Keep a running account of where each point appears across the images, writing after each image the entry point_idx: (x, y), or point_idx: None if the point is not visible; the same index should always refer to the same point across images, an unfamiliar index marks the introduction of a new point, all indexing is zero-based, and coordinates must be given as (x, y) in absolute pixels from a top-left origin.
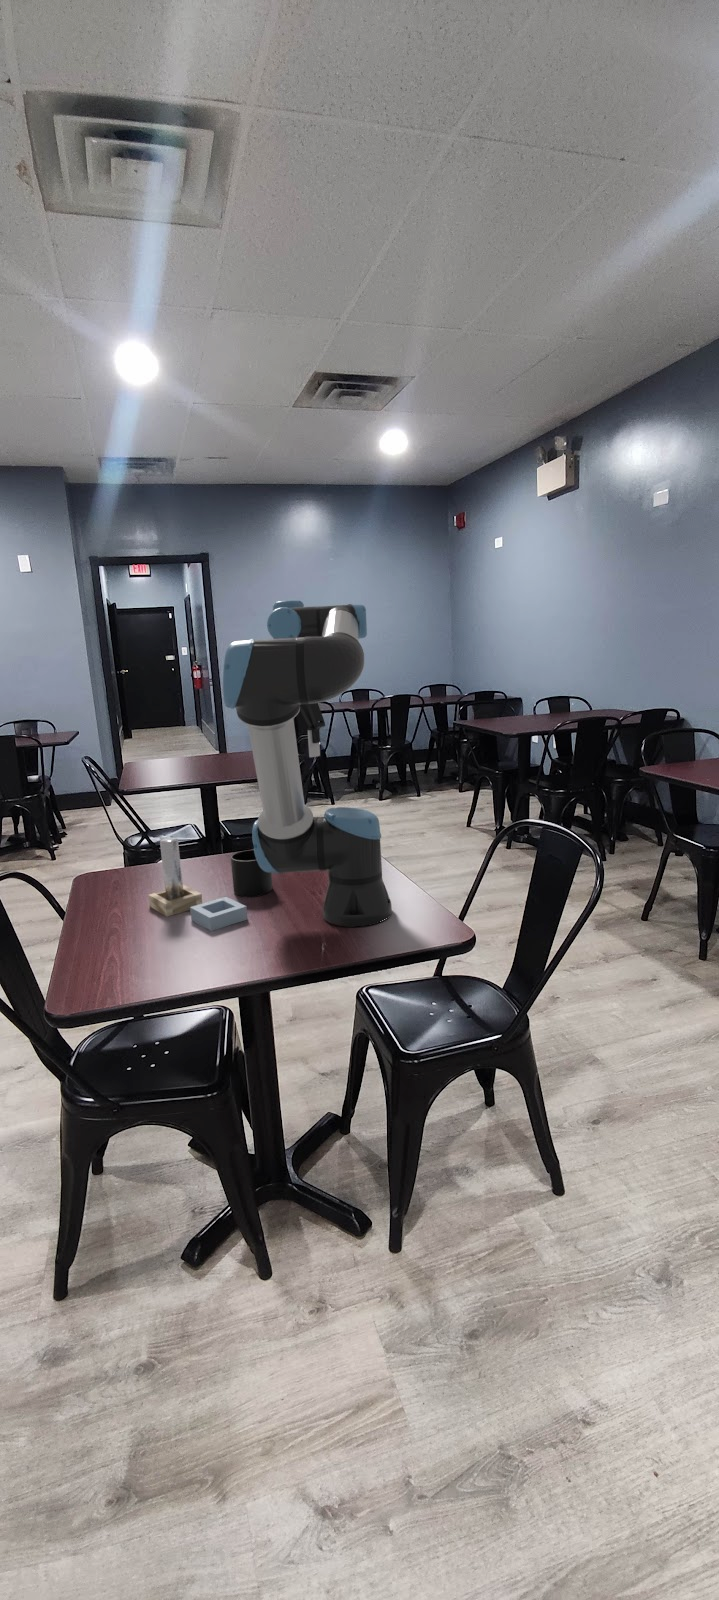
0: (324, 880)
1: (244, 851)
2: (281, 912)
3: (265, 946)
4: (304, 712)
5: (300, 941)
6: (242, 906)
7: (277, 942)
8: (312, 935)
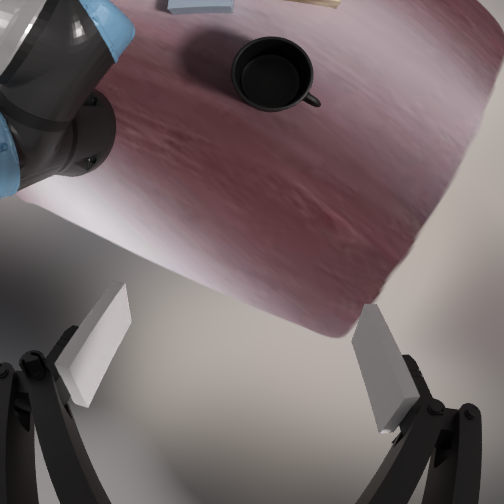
0: (213, 185)
1: (308, 84)
2: (154, 58)
3: None
4: (49, 464)
5: None
6: (171, 4)
7: None
8: None
